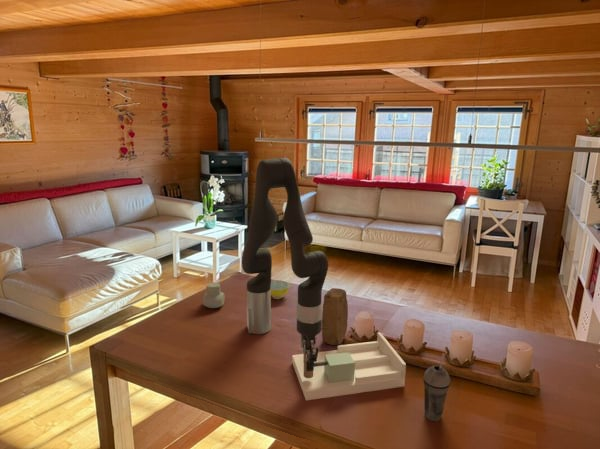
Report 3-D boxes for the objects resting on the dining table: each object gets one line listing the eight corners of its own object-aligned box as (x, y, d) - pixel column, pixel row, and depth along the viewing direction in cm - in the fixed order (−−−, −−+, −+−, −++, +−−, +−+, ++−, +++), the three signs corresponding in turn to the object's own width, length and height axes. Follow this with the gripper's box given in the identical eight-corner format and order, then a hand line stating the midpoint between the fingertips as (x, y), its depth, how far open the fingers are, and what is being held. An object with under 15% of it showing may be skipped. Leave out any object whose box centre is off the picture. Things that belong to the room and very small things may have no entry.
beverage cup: (416, 407, 123) (421, 346, 118) (440, 406, 124) (446, 345, 119) (425, 425, 116) (431, 361, 111) (450, 424, 117) (458, 360, 112)
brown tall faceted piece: (337, 348, 154) (339, 298, 149) (319, 343, 157) (320, 293, 152) (349, 335, 163) (351, 287, 158) (331, 330, 167) (333, 283, 161)
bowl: (292, 294, 200) (292, 281, 198) (284, 304, 190) (284, 291, 188) (270, 290, 204) (270, 278, 202) (261, 300, 193) (260, 287, 192)
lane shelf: (305, 400, 126) (306, 377, 124) (292, 362, 145) (292, 342, 143) (404, 386, 133) (406, 364, 131) (379, 352, 152) (380, 332, 150)
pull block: (305, 386, 128) (306, 358, 125) (301, 374, 133) (301, 347, 131) (354, 379, 131) (355, 352, 129) (347, 368, 137) (349, 342, 134)
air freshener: (221, 311, 182) (220, 289, 180) (202, 311, 182) (200, 289, 180) (225, 300, 193) (225, 280, 190) (207, 300, 193) (206, 279, 190)
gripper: (292, 307, 131) (292, 356, 135) (302, 328, 118) (301, 382, 122) (315, 304, 133) (314, 353, 137) (328, 326, 119) (326, 379, 124)
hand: (308, 366), depth 130 cm, fingers closed on pull block, 3 cm apart
